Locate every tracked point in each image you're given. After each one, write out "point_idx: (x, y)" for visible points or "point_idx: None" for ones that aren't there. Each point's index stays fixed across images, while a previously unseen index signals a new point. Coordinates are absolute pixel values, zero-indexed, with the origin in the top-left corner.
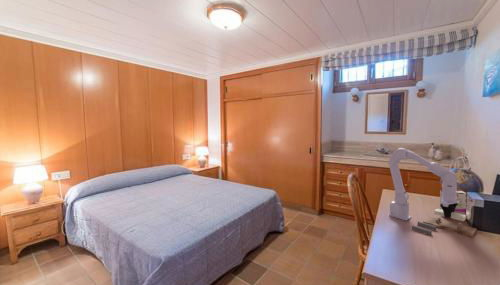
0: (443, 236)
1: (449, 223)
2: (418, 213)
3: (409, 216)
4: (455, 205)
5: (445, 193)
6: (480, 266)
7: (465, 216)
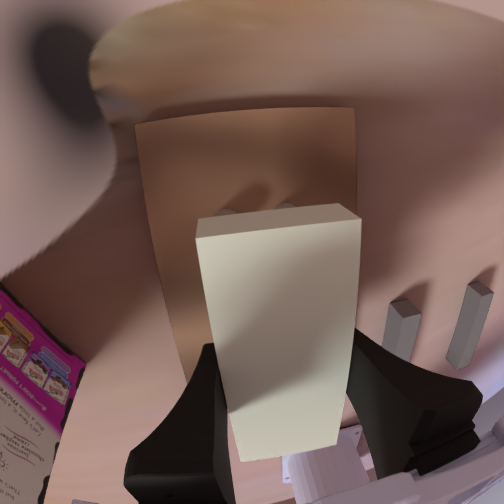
0: (459, 238)
1: None
2: None
3: None
4: (214, 453)
5: None
6: None
7: (236, 228)
